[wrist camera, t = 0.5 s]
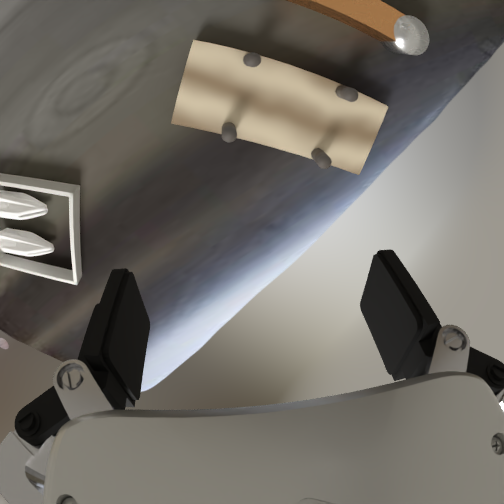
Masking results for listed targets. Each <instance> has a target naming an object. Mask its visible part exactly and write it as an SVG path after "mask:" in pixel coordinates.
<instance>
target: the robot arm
mask: <svg viewBox="0 0 504 504" xmlns="http://www.w3.org/2000/svg"><path fill="white" fill-rule="evenodd" d="M360 307H361V311H362V313H363V316H364V318H365V320H366V322H367V325H368V327H369V329H370V331H371V334H372V336H373V339H374V341H375V343H376V345H377V348H378V350H379V353H380V355H381V357H382V360H383V362H384V365H385V367H386V370H387V372H388V373H389V374H390V375H391V374H392V377H393V379H394V381H396V380H400V379H403V378H406V380H403V381H399V382H394V383H391V384H386V385H382V386H378V387H373V388H369V389H364V390H360V391H355V392H351V393H345V394H340V395H334V396H328V397H323V398H316V399H310V400H303V401H296V402H289V403H281V404H272V405H263V406H252V407H239V408H224V409H202V410H125V407H135V400H139V398H140V391H141V383H142V376H143V368H144V362H145V355H146V348H147V342H148V336H149V330H150V321H149V317H148V315H147V312H146V309H145V306H144V304H143V301H142V298H141V295H140V292H139V289H138V286H137V283H136V280H135V277H134V274H133V273H132V272H129V271H128V269H113V270H112V272H111V274H110V277H109V279H108V282H107V284H106V287H105V290H104V293H103V295H102V298H101V301H100V304H97V305H96V306H95V308H94V310H93V313H92V316H91V319H90V322H89V325H88V328H87V331H86V334H85V337H84V340H83V343H82V347H81V350H80V353H79V357H78V360H75V359H73V360H68V361H66V362H63V363H62V364H61V365H60V366H59V367H58V368H57V369H56V371H55V373H54V376H53V383H54V386H53V387H51V388H50V389H48V390H47V391H46V392H44V393H43V394H42V395H40V396H39V397H38V398H36V399H35V400H33V401H32V402H31V403H29V404H28V405H26V406H25V407H24V408H22V409H21V410H20V411H19V412H18V414H17V416H16V419H15V431H14V432H11V431H10V433H9V434H8V435H7V437H6V438H5V439H4V440H3V442H2V443H1V444H0V494H1V495H2V496H3V497H4V498H5V500H6V501H7V502H8V503H9V504H504V364H503V363H502V362H500V361H499V360H497V359H495V358H493V357H491V356H488V355H486V354H484V353H482V352H480V351H478V350H476V349H474V348H472V347H470V340H469V337H468V335H467V334H466V332H465V331H463V330H462V329H461V328H459V327H458V326H454V325H446V326H443V327H442V326H441V325H440V321H439V319H438V318H437V316H436V314H435V313H434V311H433V310H432V308H431V306H430V305H429V303H428V302H427V300H426V298H425V297H424V295H423V294H422V292H421V291H420V289H419V288H418V286H417V284H416V283H415V281H414V280H413V278H412V277H411V275H410V274H409V272H408V271H407V270H406V268H405V267H404V265H403V264H402V262H401V261H400V259H399V258H398V257H397V255H396V254H395V252H394V251H393V250H380V251H378V252H377V254H375V255H374V256H373V260H372V263H371V267H370V271H369V274H368V278H367V281H366V285H365V288H364V292H363V295H362V299H361V302H360Z"/></svg>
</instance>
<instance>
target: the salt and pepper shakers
mask: <svg viewBox="0 0 504 504" xmlns="http://www.w3.org/2000/svg"><path fill="white" fill-rule="evenodd" d="M47 212H48V209H47V205H46V204H44V203H42V202H41V201H39V200H37V199H35V198H33V197H32V196H30V195H28V194H25V193H20V192H12V191H2V190H0V217H3V218H10V219H18V220H24V219H29V218H34V217H38V216H42V215H44V214H46V213H47ZM0 248H1V250H2V251H3V252H7V253H12V254H17V255H23V256H38V255H43V254H47V253H51V252H53V251H54V247H53V244H52V243H50V242H48V241H46V240H45V239H43V238H41V237H39V236H38V235H36V234H34V233H32V232H28V231H23V230H16V229H10V228H6V229H4V230H1V231H0Z"/></svg>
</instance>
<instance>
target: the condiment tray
mask: <svg viewBox="0 0 504 504" xmlns="http://www.w3.org/2000/svg"><path fill="white" fill-rule="evenodd" d="M0 185H3V186H9V187H15V188H21V189H27V190H33V191H39V192H45V193H50V194H56V195H62V196H68V197H69V218H70V242H71V257H72V269H73V270H69V269H65V268H60V267H56V266H52V265H48V264H44V263H40V262H36V261H32V260H28V259H24V258H20V257H16V256H12V255H8V254H5V253H4V252H3V251H2V250H1V248H0V265H1V266H5V267H8V268H12V269H16V270H19V271H23V272H27V273H30V274H34V275H38V276H42V277H46V278H50V279H54V280H58V281H62V282H66V283H70V284H75V285H78V283H79V281H80V279H81V276H82V267H81V249H80V185H75V184H69V183H62V182H56V181H50V180H44V179H37V178H31V177H24V176H17V175H10V174H3V173H0Z"/></svg>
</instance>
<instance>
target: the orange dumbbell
mask: <svg viewBox="0 0 504 504" xmlns="http://www.w3.org/2000/svg"><path fill="white" fill-rule="evenodd" d="M287 1H290V2H292V3H295V4H298V5H301V6H304V7H306V8H309V9H312V10H314V11H317V12H319V13H322V14H324V15H327V16H329V17H331V18H334V19H336V20H338V21H341V22H343V23H345V24H347V25H349V26H351V27H354V28H356V29H358V30H360V31H362V32H364V33H366V34H368V35H370V36H372V37H373V38H375V39H377V40H379V41H381V43H382V44H383V46H384V47H385V48H386V49H388V50H389V51H391V52H393V53H399V54H409V55H420V54H422V53H423V52H425V51H426V49H427V47H428V45H429V34H428V31H427V29H426V27H425V25H424V24H423V23H422V22H421V21H420V20H419V19H417V18H416V17H414V16H410V15H404V14H403V13H401V12H399V11H398V10H396V9H394V8H393V7H391V6H389V5H388V4H386V3H384V2H382V1H381V0H287Z"/></svg>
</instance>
